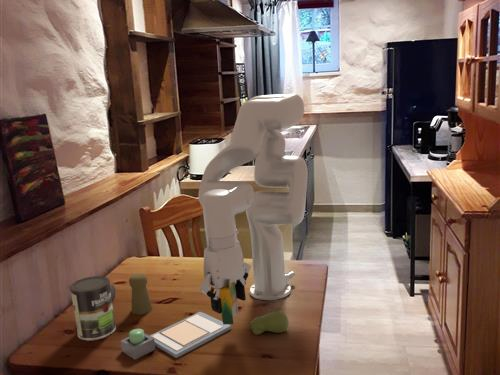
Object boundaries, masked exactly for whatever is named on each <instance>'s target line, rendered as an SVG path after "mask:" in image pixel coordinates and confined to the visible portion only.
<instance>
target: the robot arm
mask: <svg viewBox="0 0 500 375" xmlns="http://www.w3.org/2000/svg"><path fill="white" fill-rule="evenodd" d="M304 114H305V103H304V99H303V98H302V97H301V96H300V95H299V94H297V93H285V94H283V93H282V94H281V93H280V94H265V95H263V94H262V95H256V96H253V97H251V98H250V99H249V100H247V101H246V100H245V102H243V103H242V104H241V106H240V108H239V110H238V113H237V116H236V120H235V123H234V128H233V130H232V134H231V137H230V141H229V143H228V145H227V146H226V147H224V148H223V149H222V150H221V151H219V152H218V153H217V154H216V155H215V156H214V157H213V158H212V159H211V160H210V161H209V162H208V164H207V166H206V167H205V169H204V172H203V174H202V178H201V180H200V184H199V188H198V202H199V203H200V206H201V207H202V213H203V222H204V223H203V224H204V231H205V239H206V240H205V241H206V247H205V248H204V251H203V281H202V283H201V284H200V286H199V289H198V290H199V291H200V292H202V293H203V294H204V296H207V297H208V298H210V307H211V310H212V311H213V312H215V313H217V314H221V315H222V305H221V299H220V297H219V294H220V289H221V288H223V287H225V286H227V285H229V279H230V282H231V283H233V282H235V288H236V296H237V300H241V301H243V302H245V301H246V299H247V298H246V290H245V286H246V285H247V279H248V277H249V273H250V271H251V268H252V270H253V284H252V285H251V286H250V287H249V294H250V296H251V297H253V298H255V299H256V300H262V301H276V300H277V301H278V300H280V299H283V298H285V297H288V296H289V295H290V294H291V292H292V287H291V285H290V284H289V283H288V282H289V281H290V280H291V279H294V278H296V274H295V272H294V271H289V272H288V273H286V271H285V270H286V269H285V253H284V239H283V238H284V237H283V234H282V231H281V230H280V227H279V226H278V225H280V226H281V225H283V226H288V225H289V226H297V225H299V224H301V223H302V222H303V220H304V217H305V211H306V205H307V204H306V201H307V192H308V190H307V189H308V179H309V178H308V176H309V174H308V173H309V172H308V171H309V170H308V166H307V164H308V163H307V162H306V160H305V159H304V158H303V157H302V156H299V155H285V153H286V152H285V150H286V139H285V136H284V135H283V134H282V132H281V131H280V130H282V131H283V130H287V129H290V128H292V127H293V126H295V125H297V124H298V123H300V122H301V121H302V119H303V117H304ZM253 160H255V161H254V162H255V163H254V173H253V175H254V176H253V178H254V181H255V184H257V186H259V187H263V188H272V189H273V188H277V189H278V188H279V189H282V188H283V189H288V191H275V190H273V191H271V190H258V191H255V189H254V186H252V185H251V184H250V183H248V182H245V181H229V180H221V179H222V178H223V177H224V176H225V175H226V174H227V173H229V172H230V171H232V170H234V169H235V168H238V167H240V166H242V165H244V164H247V163H249V162H252V161H253ZM244 212H245V213H246V214H245V215H246V218H247V222H248V226H249V231H250V233H249V234H250V242H251V244H250V245H251V257H252V266H251V264H248V263H246V262H245V260H244V254H243V251H242V246H241V243H240V241H239V240H238V235H239V234H240V231H239V229H237V223H236V215H238V214H241V213H244Z"/></svg>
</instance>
